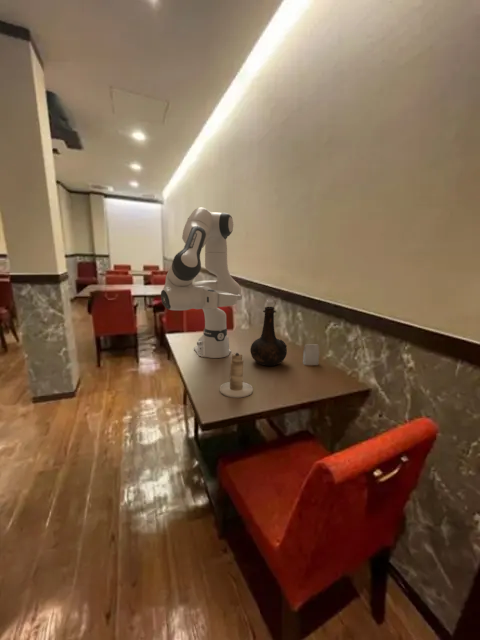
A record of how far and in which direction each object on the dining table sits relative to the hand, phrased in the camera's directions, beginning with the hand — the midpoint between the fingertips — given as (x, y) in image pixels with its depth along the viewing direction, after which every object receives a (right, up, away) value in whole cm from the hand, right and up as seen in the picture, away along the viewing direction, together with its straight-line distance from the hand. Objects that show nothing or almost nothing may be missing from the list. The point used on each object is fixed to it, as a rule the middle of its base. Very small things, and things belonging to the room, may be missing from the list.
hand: (235, 295), depth 127 cm
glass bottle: (+16, -31, +27) cm, 44 cm away
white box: (+37, -32, +27) cm, 56 cm away
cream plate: (+1, -38, -6) cm, 38 cm away
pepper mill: (+1, -37, -6) cm, 37 cm away
